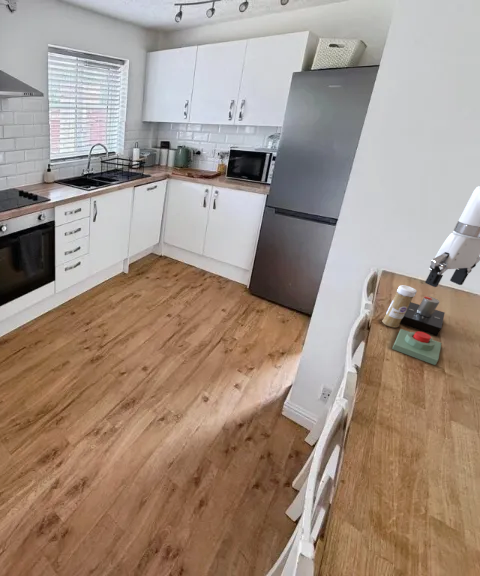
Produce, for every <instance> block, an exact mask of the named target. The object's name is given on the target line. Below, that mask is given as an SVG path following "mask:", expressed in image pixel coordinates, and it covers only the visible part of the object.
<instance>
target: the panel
mask: <svg viewBox="0 0 480 576" xmlns="http://www.w3.org/2000/svg"><path fill="white" fill-rule="evenodd" d="M419 306H420V304H418V303H415V302H412V301H411V302H410V304H409V306H408V308H407V311H406V313H405V314H404V316H403V318H402V320H401V322H400V323H399V325H402V326H406V327H408V328H411V329H413V330H417V331H420V332H424V333H426V334H428V335H430V336H435V337H438V335H439V333H440V332H441V330H442V327H443V324H444V323H443V322H444V318H445V314H446V312H445V311H441V310H437V309H435V311H434V313H433V315H432V316H431V317H425V316H422V315H420V314H418V313H417V312H416V311H417V309H418V307H419Z"/></svg>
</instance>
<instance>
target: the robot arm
mask: <svg viewBox="0 0 480 576" xmlns="http://www.w3.org/2000/svg"><path fill="white" fill-rule="evenodd" d="M471 193H472V194H470V197H469V199H468V201H467V203H466V205H465V207H464V208H463V211H462V213H461V215H460V217H459V218H458V221H457V223H456V224H455V226H454V228H453V230H452V232H450V234H449V235H448V236H447V237H446V238H445V240H444V241H443V243H442V244H441V246H440V248H439V250H438V251H437V252H436V254H435V256H434V258H432V259H431V260H430V265H429V273H428V276H427V277H426V279H425V281H424V283H425V284H427V285H429V286H431V287H432V288H437V287H438V286H439V284H440V283H441V281H442V279H443V277H444V275H443V274H444V273H445V272H446V271H448V270H454V272H453V274H452V276H451V277H450V279H449V282H451V283H454V284H456V285H459V286H462V285H463V284H464V283H465V281H466V279H467V278H468V276H469V274H470V273H471V272H472V270H473V269H474V268H476V266H477V265H478V263H479V262H480V185H478V186H476V187H475V188H474V190H473V191H472V192H471Z"/></svg>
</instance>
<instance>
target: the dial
mask: <svg viewBox="0 0 480 576" xmlns="http://www.w3.org/2000/svg"><path fill="white" fill-rule="evenodd" d="M419 305H420V306H419V307H418V309H417V311H416V312H417V313H418V314H420V315H422V316H425V317H431V316H432V315H433V313H434V311H435V310H437V308H438V305H440V300H438V299H437V298H436V297H432V296H426V295H424V296H423V298H422V300H421V302H420V304H419Z"/></svg>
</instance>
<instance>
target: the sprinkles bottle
mask: <svg viewBox="0 0 480 576" xmlns="http://www.w3.org/2000/svg"><path fill="white" fill-rule="evenodd" d="M417 292H418V291H417V289H416V288H414V287H412V286H409V285H405V284H404V285H403V284H401V285H399V286H398V288H397V290H396V293H395V295H394V297H393V299H392V301H391V302H390V304H389V307H388V308H387V310H386V313H385V315H384V317H383V319H382V321H381V323H382V324H383V325H385V326H387V327H390V328H398V327H400V324H399V323H400V322H401V320H402V318H403V316H404V314H405V313H406V311H407V308H408V306H409V304H410V302H412V300H413V298H414V297H415V296H416V294H417Z"/></svg>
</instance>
